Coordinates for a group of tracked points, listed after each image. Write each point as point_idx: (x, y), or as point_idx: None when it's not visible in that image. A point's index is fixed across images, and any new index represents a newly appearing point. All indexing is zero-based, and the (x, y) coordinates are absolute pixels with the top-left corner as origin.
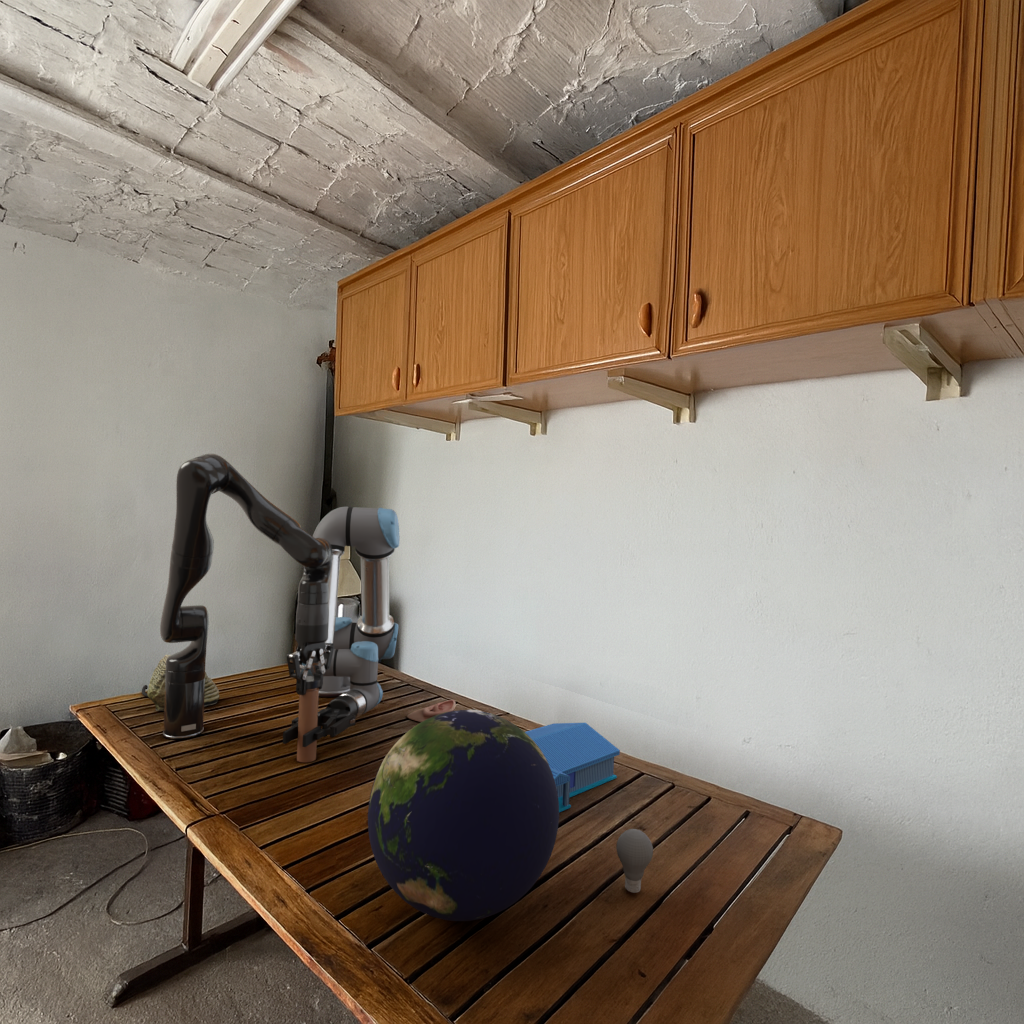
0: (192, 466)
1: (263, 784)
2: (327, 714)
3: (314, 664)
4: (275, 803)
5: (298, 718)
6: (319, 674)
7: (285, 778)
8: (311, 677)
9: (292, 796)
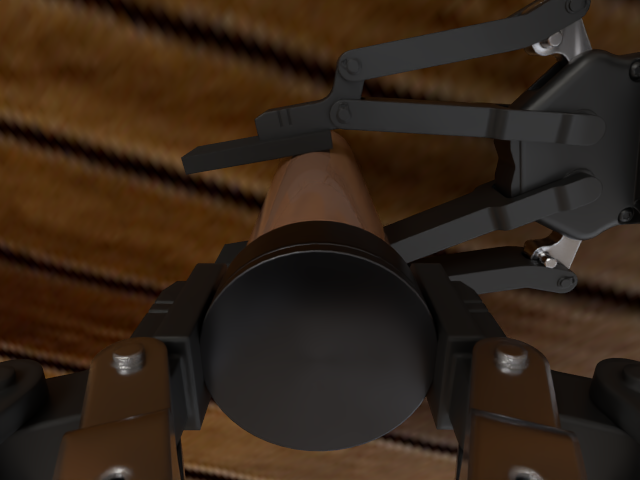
0: None
1: (83, 189)
2: (530, 157)
3: (462, 464)
4: (37, 307)
5: (272, 184)
6: (442, 412)
7: (160, 217)
8: (373, 341)
9: (96, 316)
